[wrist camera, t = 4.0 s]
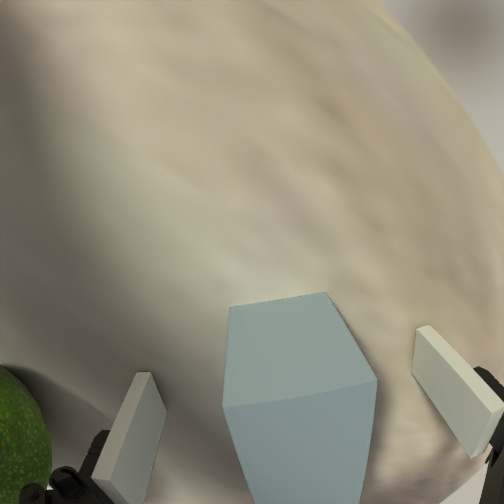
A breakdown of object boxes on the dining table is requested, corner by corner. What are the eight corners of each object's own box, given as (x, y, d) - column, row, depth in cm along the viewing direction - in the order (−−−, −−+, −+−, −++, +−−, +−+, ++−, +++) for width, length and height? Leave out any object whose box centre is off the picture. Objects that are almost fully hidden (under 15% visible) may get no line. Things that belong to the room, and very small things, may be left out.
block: (227, 307, 13) (217, 418, 7) (328, 291, 13) (386, 387, 7) (269, 487, 17) (275, 565, 11) (331, 476, 17) (350, 552, 11)
